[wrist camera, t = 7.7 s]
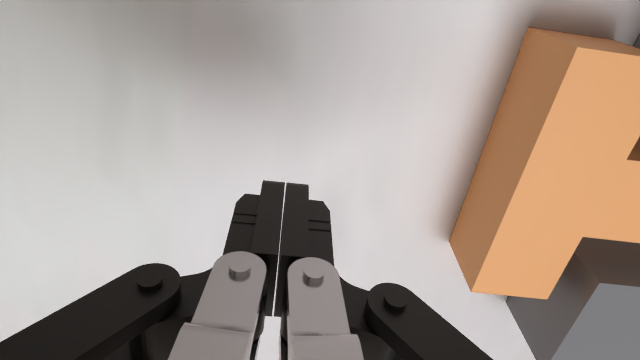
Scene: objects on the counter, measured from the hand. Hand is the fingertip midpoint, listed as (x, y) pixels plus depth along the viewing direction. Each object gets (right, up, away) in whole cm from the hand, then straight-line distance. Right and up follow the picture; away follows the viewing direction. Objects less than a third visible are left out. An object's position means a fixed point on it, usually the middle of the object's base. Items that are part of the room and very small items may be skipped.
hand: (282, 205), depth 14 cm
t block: (+16, +2, +8) cm, 17 cm away
